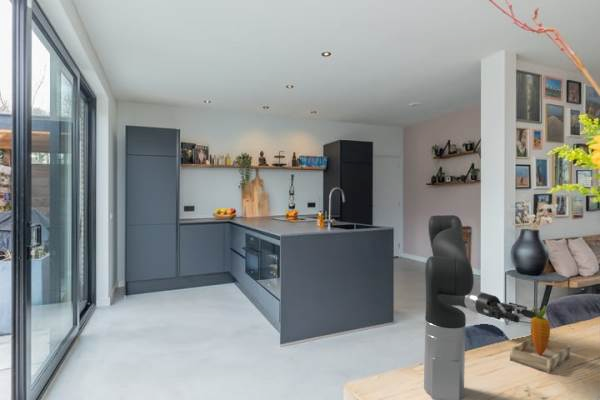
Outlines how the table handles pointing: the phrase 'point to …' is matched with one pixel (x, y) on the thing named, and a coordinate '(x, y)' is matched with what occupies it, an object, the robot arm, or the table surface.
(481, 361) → the table surface
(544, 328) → the carrot
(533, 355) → the oak tray
